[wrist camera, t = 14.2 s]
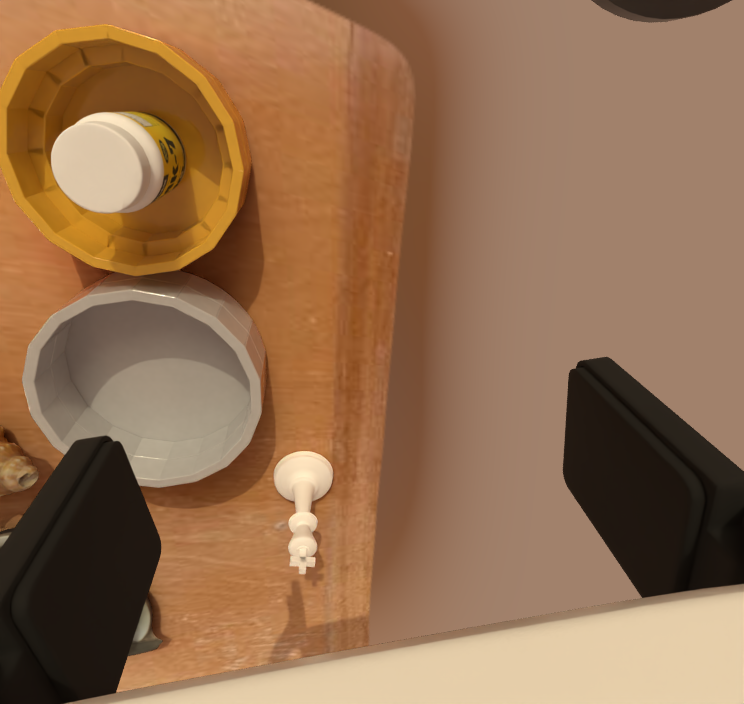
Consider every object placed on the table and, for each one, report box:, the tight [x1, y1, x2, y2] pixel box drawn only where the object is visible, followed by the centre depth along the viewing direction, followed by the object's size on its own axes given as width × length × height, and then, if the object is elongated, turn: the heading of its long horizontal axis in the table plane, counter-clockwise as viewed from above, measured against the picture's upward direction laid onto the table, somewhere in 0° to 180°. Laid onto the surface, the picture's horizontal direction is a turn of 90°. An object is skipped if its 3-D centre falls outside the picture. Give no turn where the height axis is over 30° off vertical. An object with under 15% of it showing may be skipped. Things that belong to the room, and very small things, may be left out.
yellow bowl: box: [0, 24, 252, 276], centre depth 30 cm, size 12×12×5 cm
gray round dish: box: [22, 270, 267, 488], centre depth 36 cm, size 14×15×5 cm
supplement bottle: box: [51, 112, 186, 214], centre depth 28 cm, size 5×5×8 cm
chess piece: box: [274, 451, 333, 574], centre depth 39 cm, size 5×5×10 cm
